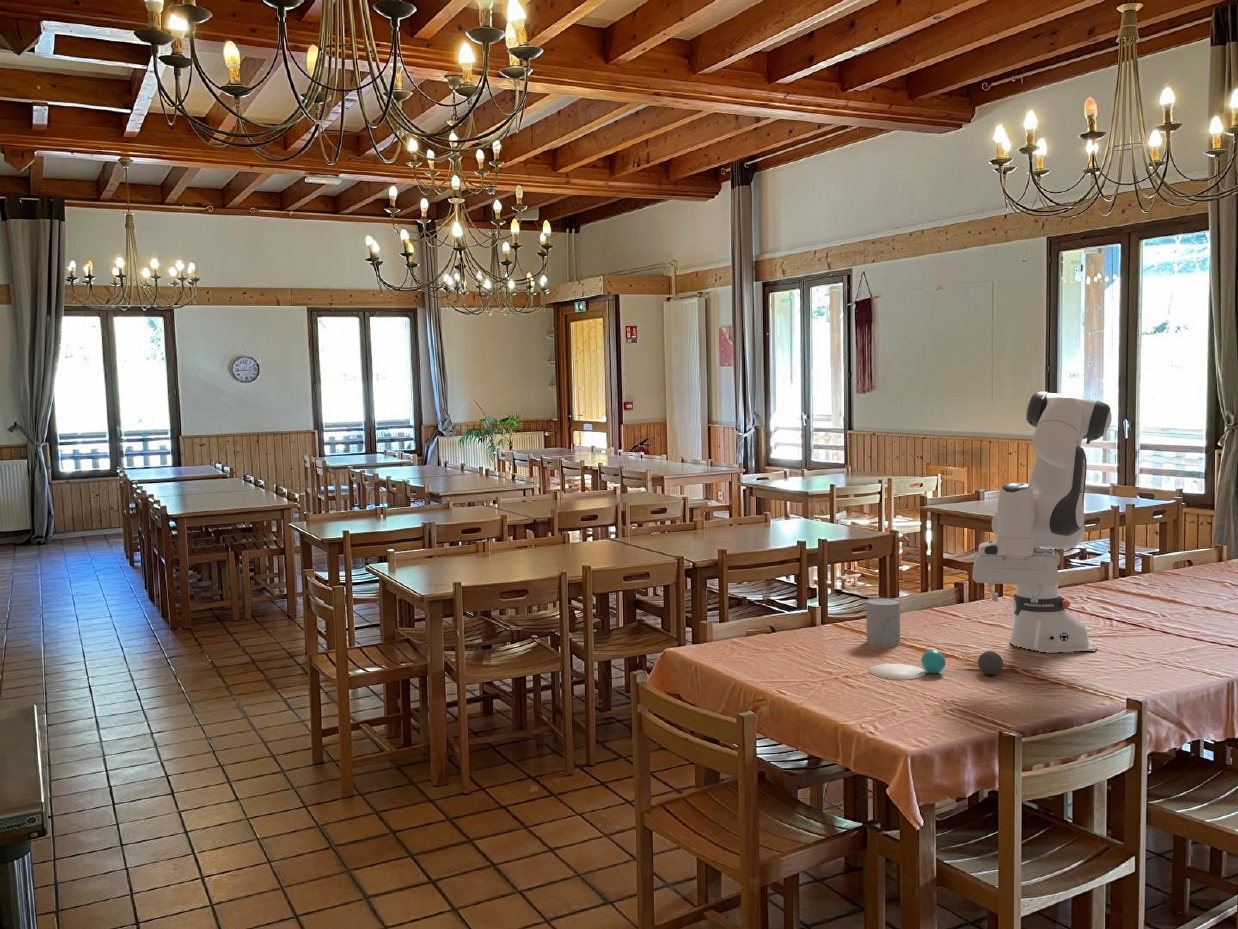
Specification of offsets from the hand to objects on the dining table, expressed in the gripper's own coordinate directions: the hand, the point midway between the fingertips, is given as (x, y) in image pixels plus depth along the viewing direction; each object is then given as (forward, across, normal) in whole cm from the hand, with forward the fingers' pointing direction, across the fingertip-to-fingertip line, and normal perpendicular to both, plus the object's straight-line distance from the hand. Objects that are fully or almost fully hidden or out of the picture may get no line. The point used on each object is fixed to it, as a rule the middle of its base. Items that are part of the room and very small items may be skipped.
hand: (1014, 601), depth 254 cm
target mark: (+19, +28, +3) cm, 35 cm away
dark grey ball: (+16, +6, +1) cm, 17 cm away
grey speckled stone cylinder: (+19, +34, -25) cm, 46 cm away
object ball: (+16, +20, +2) cm, 26 cm away
